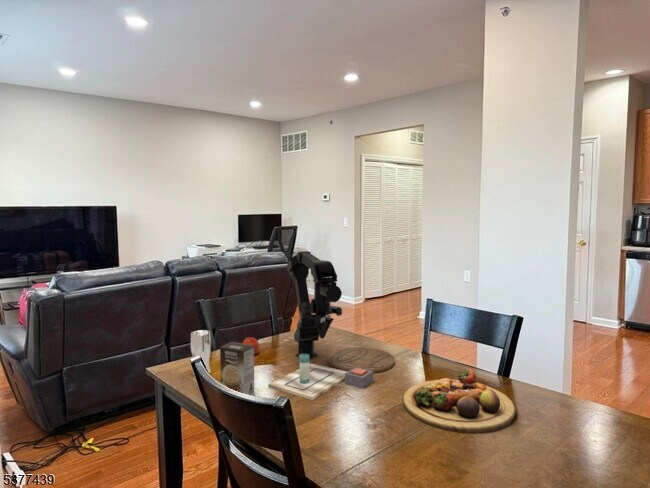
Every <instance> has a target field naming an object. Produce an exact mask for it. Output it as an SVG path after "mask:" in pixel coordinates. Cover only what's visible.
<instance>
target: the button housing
mask: <svg viewBox="0 0 650 488" xmlns="http://www.w3.org/2000/svg"><path fill="white" fill-rule="evenodd" d="M356 368H357V367H355V368H353V369H351V370H350V371H348V372H346V373H345V380H344V384H346V385H348V386H352V387H356V388H357V387H358V388H360V389H364V388H366V387H367V386H369V385H370V384H372V383H373V382H374V374H373V371H370V370H367V373H366V374H365V375H363V376H359V375H355V374H351V371H353V370H354V369H356ZM359 369H361V368H359ZM364 370H366V369H364Z"/></svg>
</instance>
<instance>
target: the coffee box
mask: <svg viewBox="0 0 650 488" xmlns="http://www.w3.org/2000/svg"><path fill="white" fill-rule="evenodd" d="M219 351H220V353H219V355H220V358H219V359H220V360H219V361H220V365H219V366H220V385H221V384H223V385H225V386H227V387H228V388H230V389H233V390H235V391H238V392H241V393H245V394H249V395H252V396H253V395H255V354H254V345H248V344H243V342H237V341H229V342H228V343H226V344H224V345H222V346H220V347H219Z"/></svg>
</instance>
